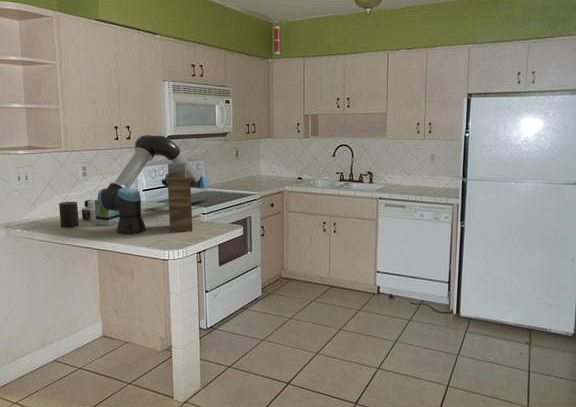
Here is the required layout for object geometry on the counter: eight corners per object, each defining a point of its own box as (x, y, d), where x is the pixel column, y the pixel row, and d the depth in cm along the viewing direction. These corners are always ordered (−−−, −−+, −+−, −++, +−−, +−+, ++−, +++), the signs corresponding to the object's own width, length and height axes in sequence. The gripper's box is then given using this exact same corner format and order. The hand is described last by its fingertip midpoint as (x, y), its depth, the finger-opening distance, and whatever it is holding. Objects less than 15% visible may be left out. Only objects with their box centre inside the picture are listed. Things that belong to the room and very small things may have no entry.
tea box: (109, 226, 286) (107, 201, 283) (95, 225, 290) (93, 200, 287) (126, 220, 300) (124, 196, 297) (112, 219, 303) (111, 195, 301)
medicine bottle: (82, 220, 302) (80, 200, 300) (91, 217, 308) (90, 199, 306) (90, 221, 299) (88, 201, 297) (99, 219, 305) (98, 199, 303)
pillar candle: (67, 228, 280) (65, 202, 278) (57, 226, 286) (55, 201, 283) (82, 225, 288) (80, 200, 286) (72, 223, 294) (70, 198, 291)
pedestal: (194, 231, 273) (192, 177, 267) (168, 233, 270) (165, 178, 264) (192, 223, 291) (190, 173, 285) (168, 225, 288) (165, 174, 282)
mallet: (185, 176, 269) (184, 164, 268) (168, 177, 269) (167, 164, 267) (190, 171, 294) (190, 159, 293) (175, 171, 293) (175, 159, 292)
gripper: (199, 193, 318) (200, 181, 299) (159, 195, 312) (157, 182, 293) (198, 182, 320) (199, 169, 301) (158, 184, 315) (157, 171, 295)
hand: (178, 176), depth 297 cm, fingers open, 13 cm apart
